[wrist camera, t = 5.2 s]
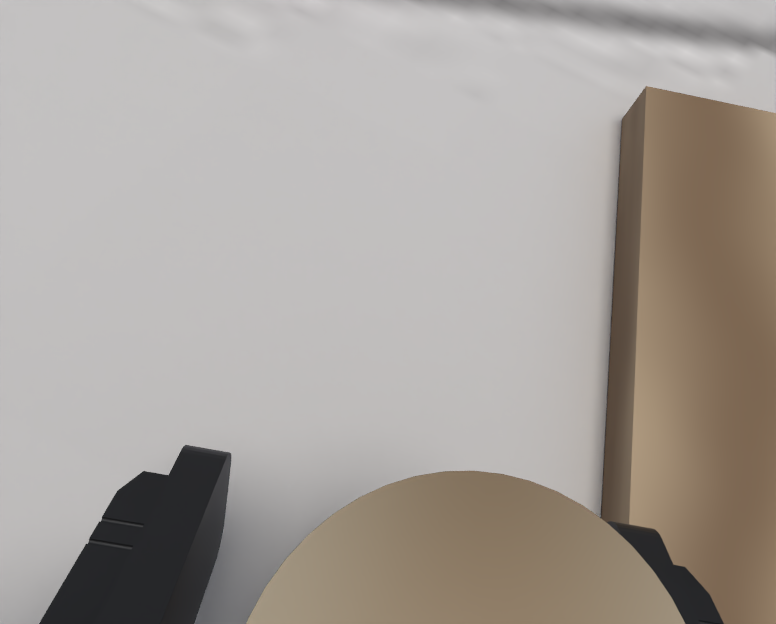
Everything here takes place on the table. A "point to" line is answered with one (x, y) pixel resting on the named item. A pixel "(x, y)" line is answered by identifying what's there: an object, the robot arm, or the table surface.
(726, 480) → the board
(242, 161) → the table surface
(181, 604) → the robot arm
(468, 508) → the tan grey cylinder
